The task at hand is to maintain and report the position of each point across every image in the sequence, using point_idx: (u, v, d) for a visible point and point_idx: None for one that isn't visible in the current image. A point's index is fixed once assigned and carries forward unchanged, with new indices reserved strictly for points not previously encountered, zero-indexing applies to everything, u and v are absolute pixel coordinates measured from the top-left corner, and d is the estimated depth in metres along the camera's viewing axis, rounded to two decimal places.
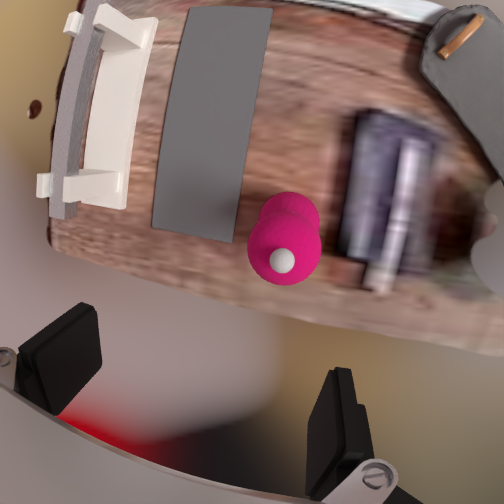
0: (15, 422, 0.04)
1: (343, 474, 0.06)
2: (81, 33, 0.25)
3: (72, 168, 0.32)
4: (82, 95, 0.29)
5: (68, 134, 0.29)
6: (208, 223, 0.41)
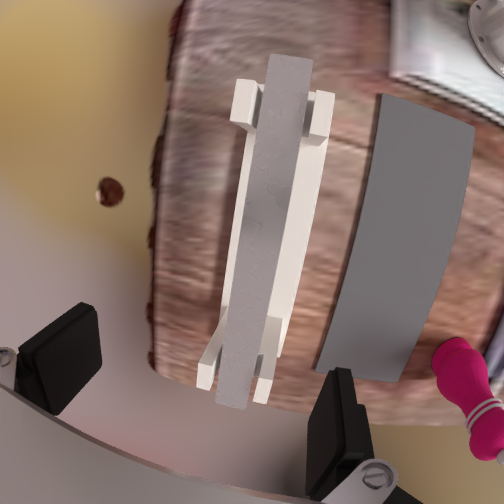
0: (15, 422, 0.04)
1: (343, 474, 0.06)
2: (272, 134, 0.19)
3: (258, 354, 0.26)
4: None
5: (260, 319, 0.23)
6: (379, 368, 0.35)
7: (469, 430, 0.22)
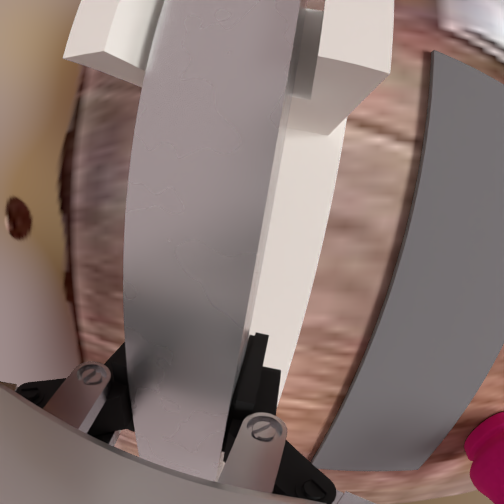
0: (15, 422, 0.04)
1: (238, 425, 0.08)
2: (189, 81, 0.05)
3: None
4: None
5: None
6: (398, 459, 0.21)
7: None
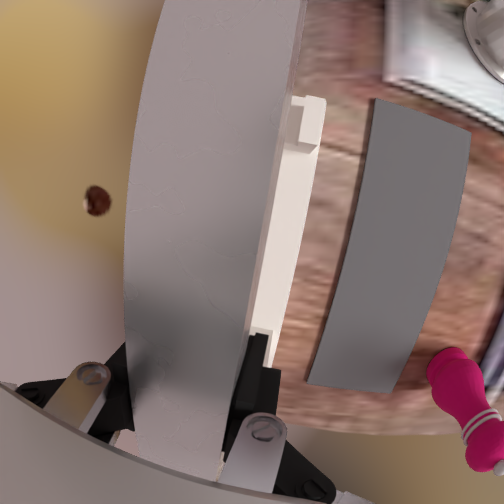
0: (15, 422, 0.04)
1: (238, 425, 0.08)
2: (189, 81, 0.05)
3: None
4: None
5: None
6: (372, 379, 0.34)
7: (465, 442, 0.21)
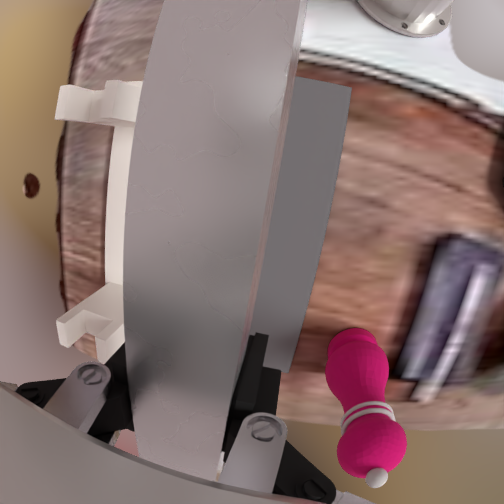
0: (15, 422, 0.04)
1: (238, 425, 0.08)
2: (189, 83, 0.05)
3: None
4: None
5: None
6: None
7: None
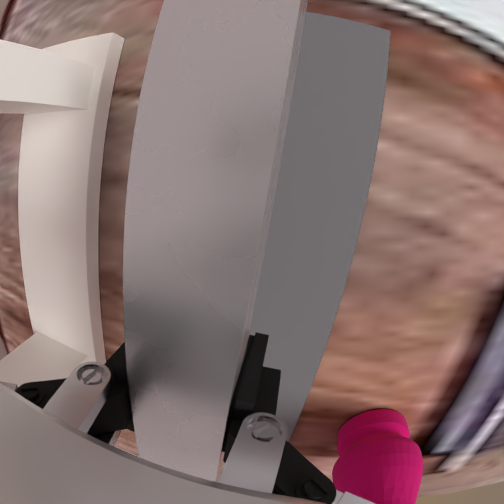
0: (15, 422, 0.04)
1: (238, 425, 0.08)
2: (188, 84, 0.05)
3: None
4: None
5: None
6: None
7: None
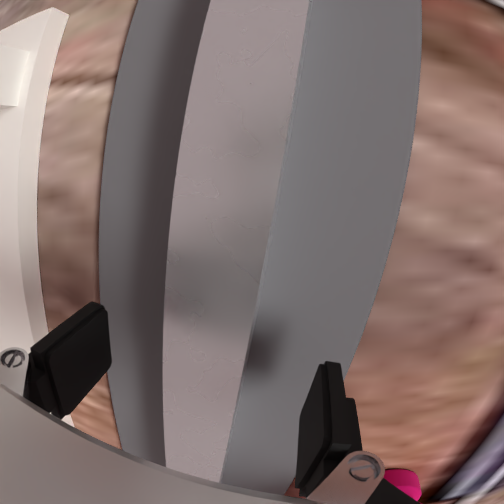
0: (15, 422, 0.04)
1: (330, 466, 0.06)
2: (222, 103, 0.08)
3: (222, 472, 0.14)
4: (247, 356, 0.11)
5: (218, 447, 0.12)
6: None
7: None
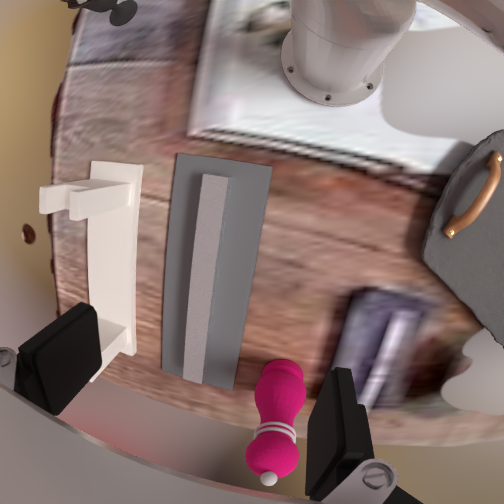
0: (15, 422, 0.04)
1: (343, 474, 0.06)
2: (205, 225, 0.36)
3: (207, 348, 0.42)
4: (214, 291, 0.39)
5: (205, 326, 0.40)
6: (211, 375, 0.45)
7: None
